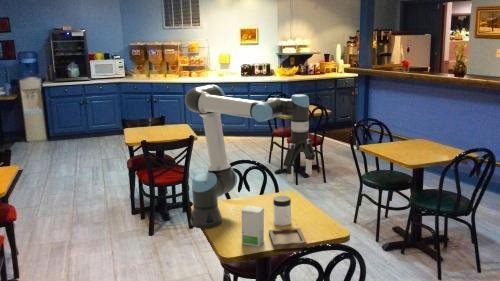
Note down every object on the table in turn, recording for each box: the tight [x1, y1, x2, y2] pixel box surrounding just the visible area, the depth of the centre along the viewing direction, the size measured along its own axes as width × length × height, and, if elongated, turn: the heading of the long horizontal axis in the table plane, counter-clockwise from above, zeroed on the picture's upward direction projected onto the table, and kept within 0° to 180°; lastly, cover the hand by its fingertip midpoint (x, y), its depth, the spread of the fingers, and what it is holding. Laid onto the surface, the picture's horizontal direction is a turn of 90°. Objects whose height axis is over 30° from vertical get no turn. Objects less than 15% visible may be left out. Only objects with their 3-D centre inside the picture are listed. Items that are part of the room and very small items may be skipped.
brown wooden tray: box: [268, 227, 308, 250], centre depth 202 cm, size 14×15×2 cm
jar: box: [272, 195, 292, 227], centre depth 220 cm, size 9×8×12 cm
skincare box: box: [241, 204, 265, 248], centre depth 200 cm, size 8×7×16 cm
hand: (299, 177), depth 207 cm, fingers open, 13 cm apart
